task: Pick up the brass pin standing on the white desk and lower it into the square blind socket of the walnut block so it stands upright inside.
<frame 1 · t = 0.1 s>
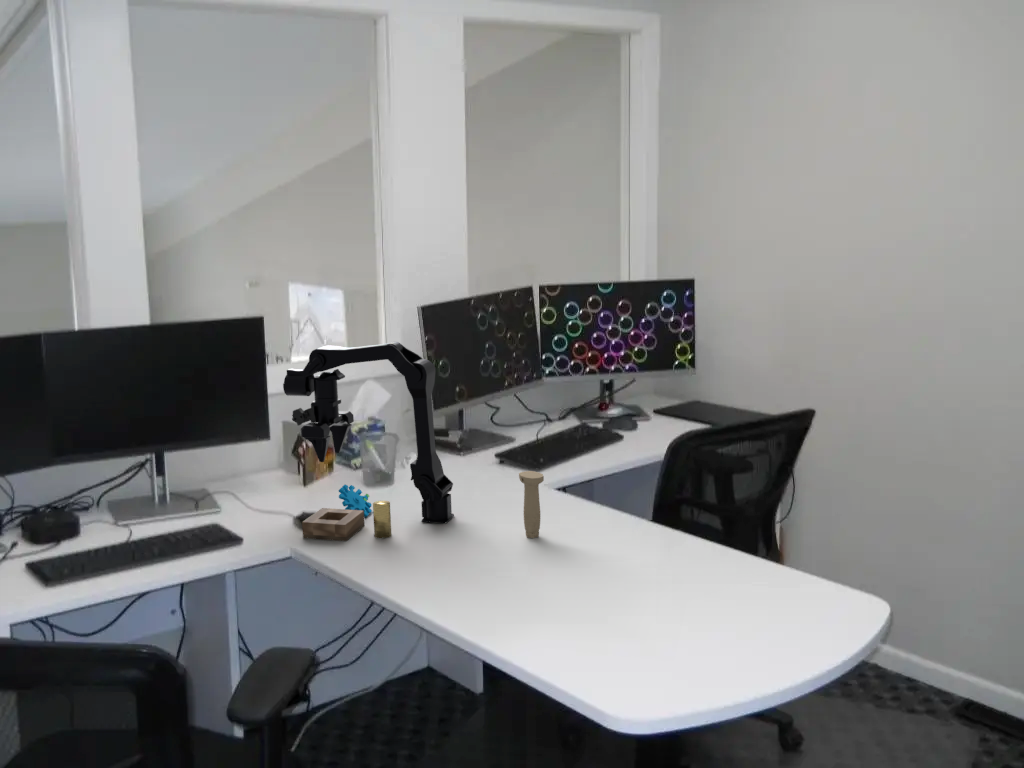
hand: (329, 457, 253), 15 cm above the table, tool pointing down, fingers open, 9 cm apart
gear: (357, 515, 254), on the table
pin: (382, 535, 237), on the table
socket block: (334, 532, 240), on the table
handle: (532, 537, 234), on the table
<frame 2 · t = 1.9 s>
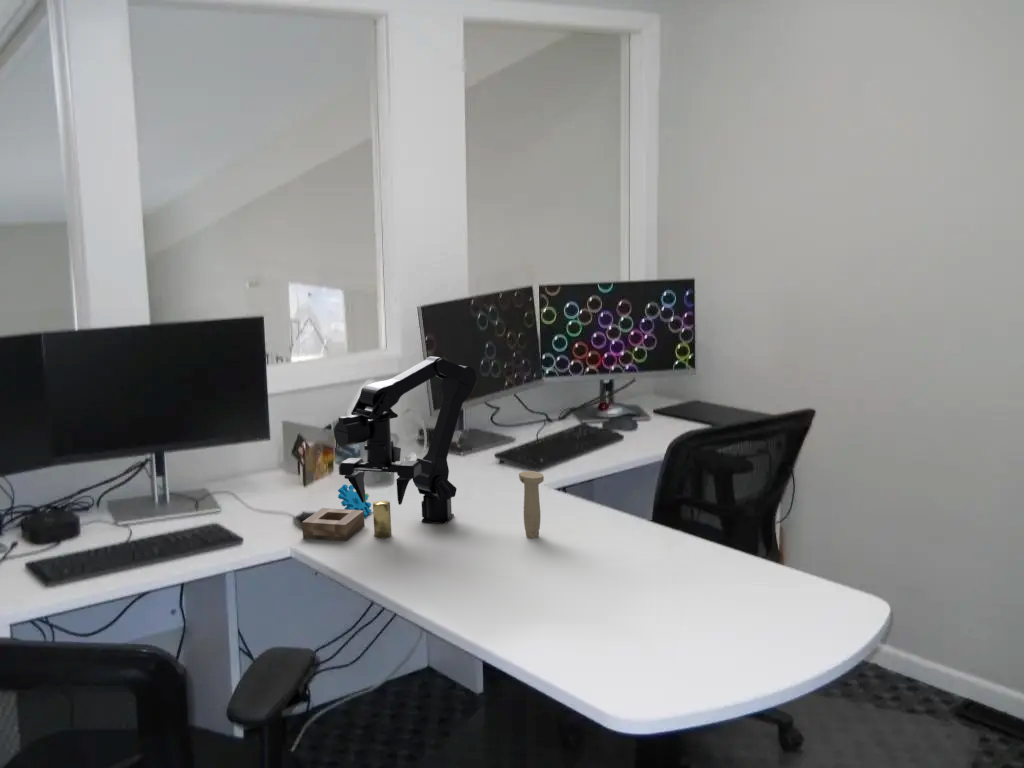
hand: (381, 503, 236), 8 cm above the table, tool pointing down, fingers open, 9 cm apart
nothing on the table moved.
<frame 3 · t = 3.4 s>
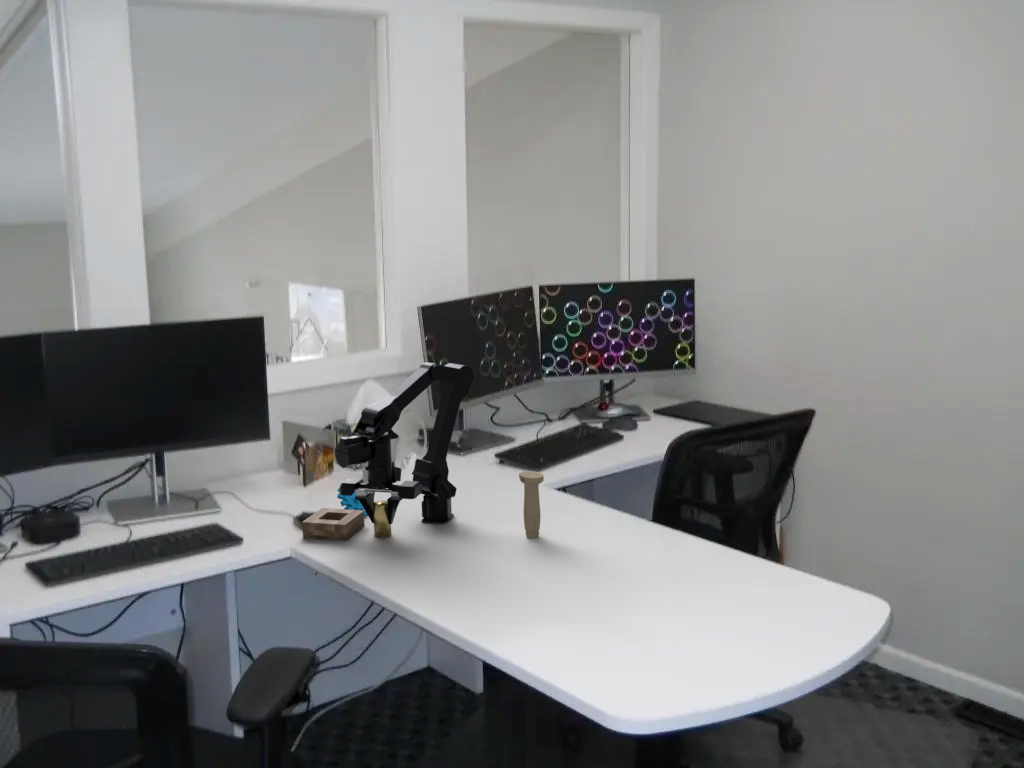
hand: (382, 523, 237), 3 cm above the table, tool pointing down, fingers closed on pin, 4 cm apart
pin: (382, 535, 237), on the table, touching gripper
everything else where it was.
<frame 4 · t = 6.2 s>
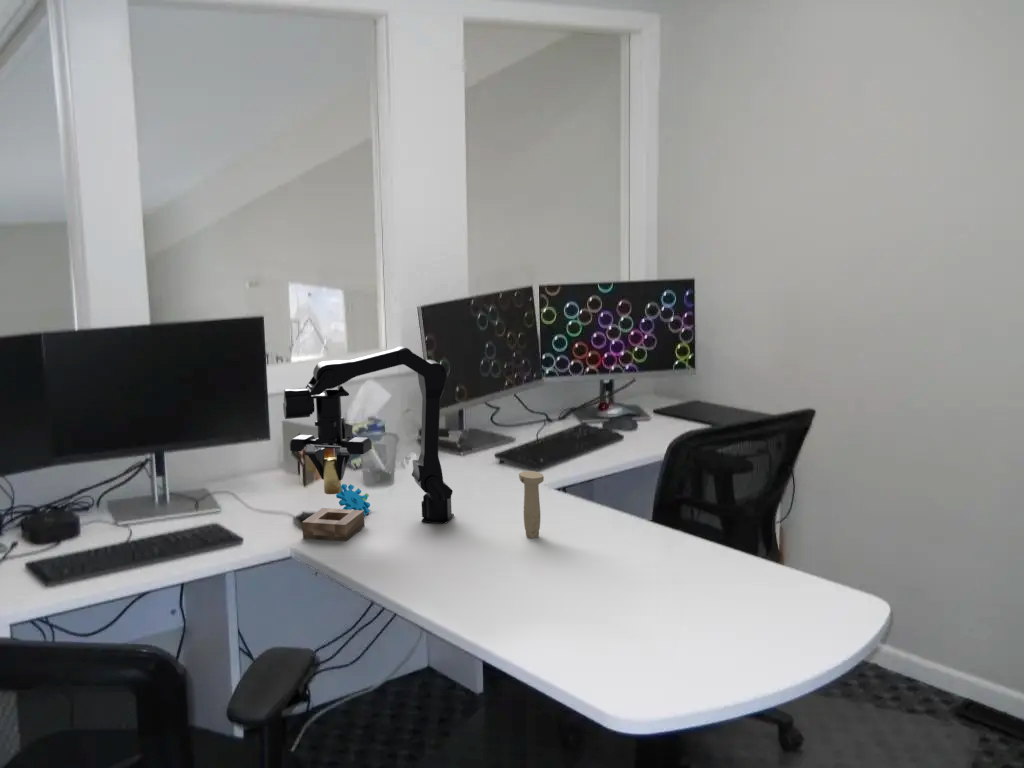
hand: (332, 479, 238), 13 cm above the table, tool pointing down, fingers closed on pin, 4 cm apart
pin: (332, 491, 238), point 10 cm above the table, touching gripper
everything else where it was.
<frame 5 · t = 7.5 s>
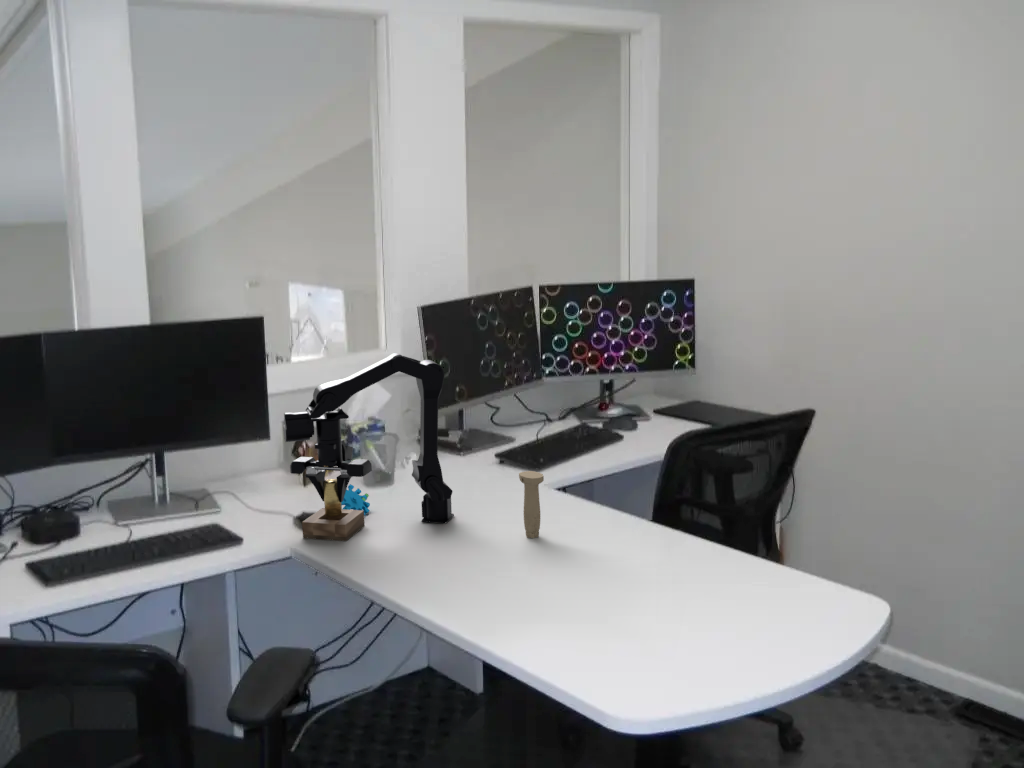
hand: (332, 501, 239), 8 cm above the table, tool pointing down, fingers closed on pin, 4 cm apart
pin: (333, 513, 239), point 5 cm above the table, touching gripper
everything else where it was.
when the fingers open (5 cm above the table, at t = 8.9 s): pin stays where it is, resting on socket block.
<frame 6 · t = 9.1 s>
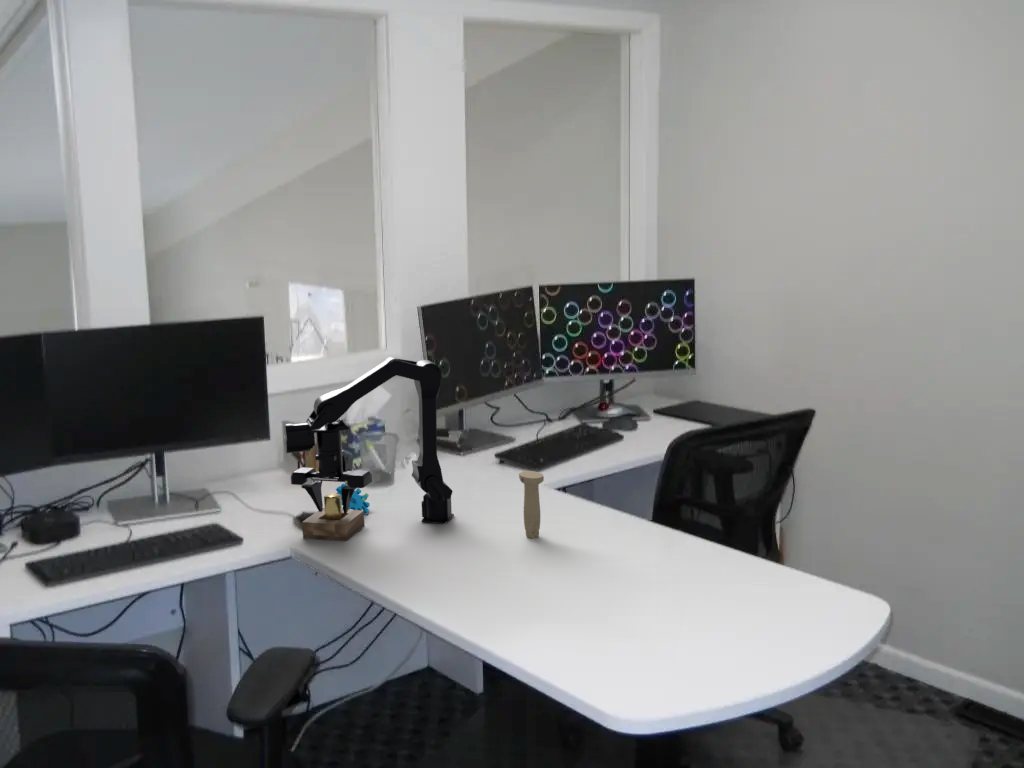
hand: (333, 512, 239), 5 cm above the table, tool pointing down, fingers open, 6 cm apart
pin: (334, 528, 240), point 1 cm above the table, touching socket block
everything else where it was.
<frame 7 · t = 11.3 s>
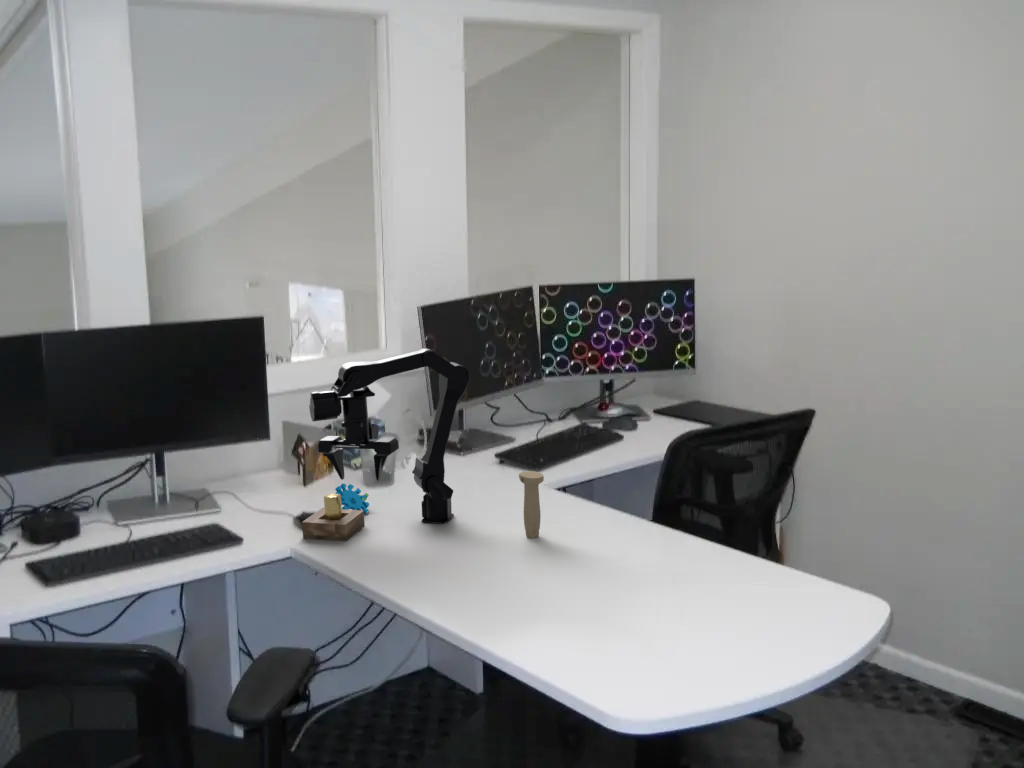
hand: (360, 479, 239), 13 cm above the table, tool pointing down, fingers open, 9 cm apart
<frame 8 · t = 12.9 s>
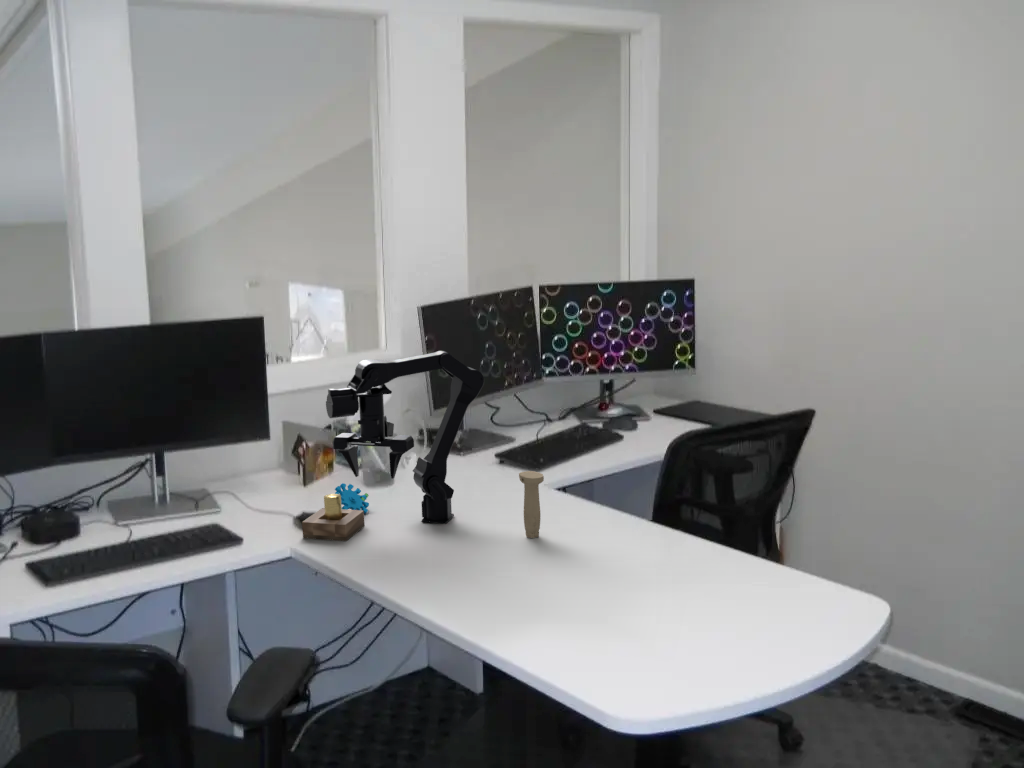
hand: (374, 477, 239), 13 cm above the table, tool pointing down, fingers open, 9 cm apart
at the end: pin 0.1 cm off-centre on the socket block, point 1.0 cm above the socket block's base; pin tilted 0°; the gripper is holding nothing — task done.
